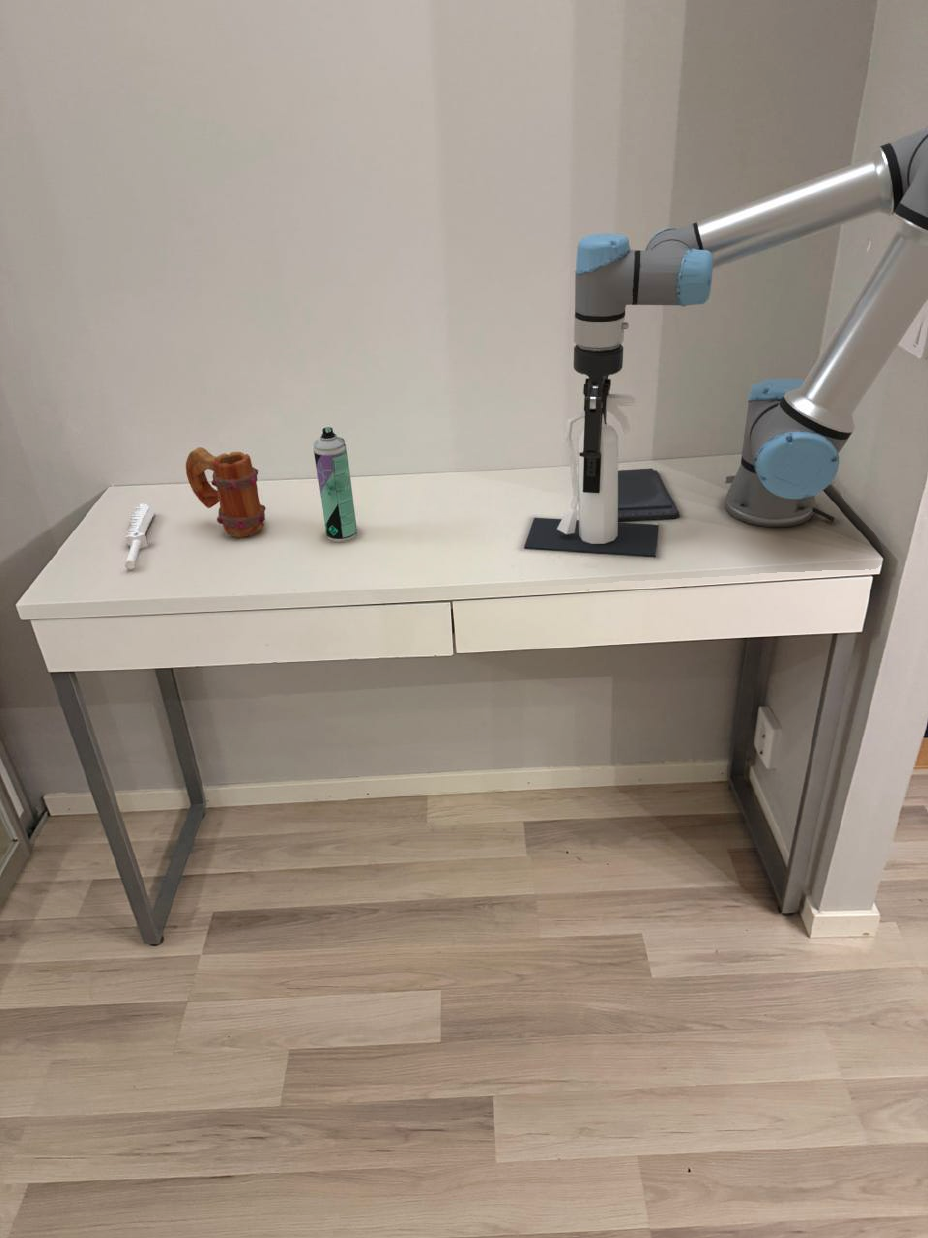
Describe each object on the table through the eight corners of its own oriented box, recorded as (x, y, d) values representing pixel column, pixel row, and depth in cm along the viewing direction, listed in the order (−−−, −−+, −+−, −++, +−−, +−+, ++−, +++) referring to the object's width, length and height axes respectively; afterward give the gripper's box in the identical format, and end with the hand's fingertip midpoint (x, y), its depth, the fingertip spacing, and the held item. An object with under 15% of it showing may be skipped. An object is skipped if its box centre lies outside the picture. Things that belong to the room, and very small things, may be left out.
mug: (279, 524, 166) (265, 447, 157) (253, 544, 160) (237, 465, 151) (215, 512, 171) (199, 438, 163) (187, 531, 165) (169, 455, 157)
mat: (658, 526, 158) (658, 524, 158) (655, 557, 149) (655, 555, 149) (534, 519, 163) (534, 517, 162) (524, 548, 154) (524, 546, 153)
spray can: (344, 525, 164) (330, 420, 153) (363, 534, 161) (350, 427, 150) (320, 536, 161) (304, 429, 150) (339, 545, 158) (324, 437, 147)
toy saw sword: (117, 573, 153) (136, 515, 172) (141, 570, 154) (157, 513, 172) (113, 559, 152) (133, 503, 170) (138, 557, 152) (154, 501, 171)
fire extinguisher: (557, 526, 159) (557, 388, 145) (626, 526, 158) (633, 387, 144) (556, 544, 153) (557, 403, 140) (628, 545, 152) (636, 402, 138)
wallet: (681, 509, 159) (594, 513, 159) (680, 518, 160) (594, 522, 160) (659, 463, 176) (581, 467, 176) (659, 472, 177) (581, 476, 177)
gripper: (618, 364, 129) (611, 510, 142) (628, 326, 145) (620, 460, 157) (566, 363, 131) (563, 507, 143) (581, 326, 146) (577, 458, 159)
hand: (593, 482), depth 150 cm, fingers closed on fire extinguisher, 6 cm apart
